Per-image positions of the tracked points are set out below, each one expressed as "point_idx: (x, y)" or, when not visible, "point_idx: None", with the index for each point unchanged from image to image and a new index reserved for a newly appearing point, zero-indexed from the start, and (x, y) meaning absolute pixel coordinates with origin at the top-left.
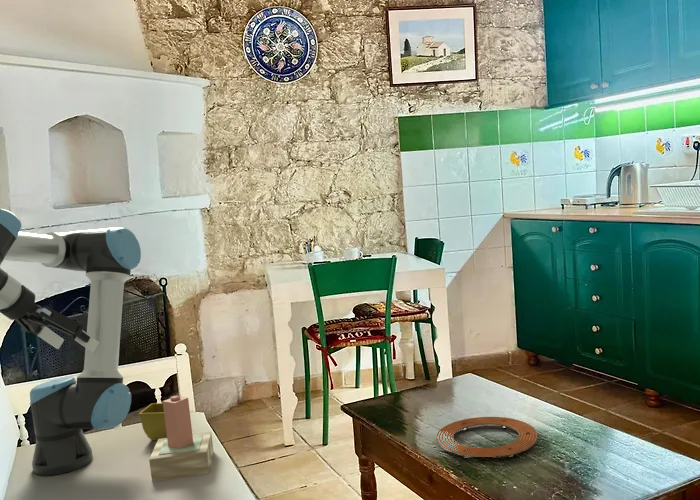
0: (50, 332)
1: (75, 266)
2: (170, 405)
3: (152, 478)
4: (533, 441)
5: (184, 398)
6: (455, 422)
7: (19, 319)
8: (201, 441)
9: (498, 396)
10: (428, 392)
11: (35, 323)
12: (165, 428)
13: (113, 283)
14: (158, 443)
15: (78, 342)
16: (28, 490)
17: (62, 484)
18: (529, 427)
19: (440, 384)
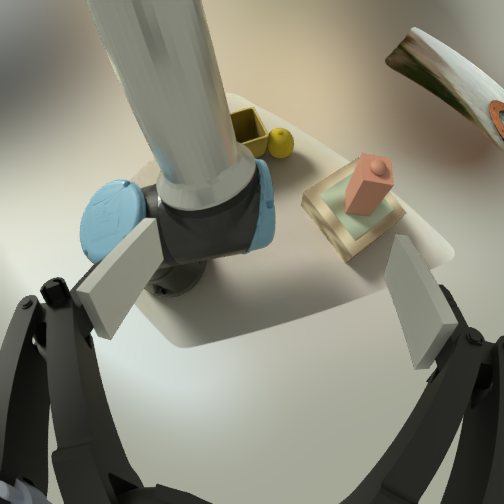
0: (118, 271)
1: None
2: (381, 186)
3: (347, 261)
4: None
5: (388, 162)
6: (490, 107)
7: (42, 462)
8: None
9: (463, 62)
10: (419, 48)
11: (99, 404)
12: (262, 151)
13: None
14: (318, 205)
15: (407, 334)
16: (191, 335)
17: (223, 309)
18: None
19: (413, 37)
